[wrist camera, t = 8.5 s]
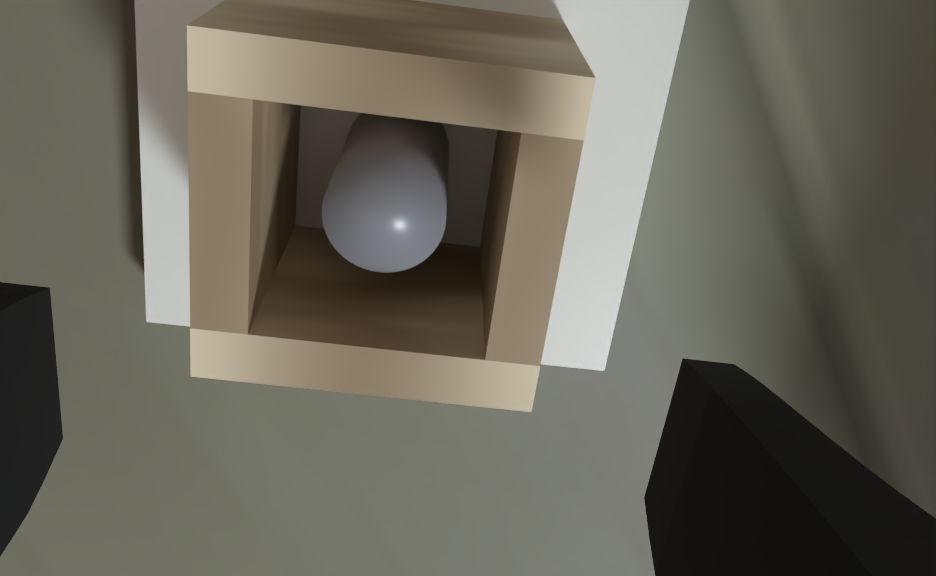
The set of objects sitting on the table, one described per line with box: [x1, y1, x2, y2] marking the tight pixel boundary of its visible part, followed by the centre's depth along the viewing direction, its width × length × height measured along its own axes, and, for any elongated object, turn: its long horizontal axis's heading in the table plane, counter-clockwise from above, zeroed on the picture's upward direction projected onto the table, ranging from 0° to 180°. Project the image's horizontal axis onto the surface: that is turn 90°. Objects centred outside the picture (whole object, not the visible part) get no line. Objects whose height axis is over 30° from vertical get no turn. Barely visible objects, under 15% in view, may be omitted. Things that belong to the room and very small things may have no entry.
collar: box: [187, 0, 596, 412], centre depth 15 cm, size 6×6×4 cm
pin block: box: [134, 0, 690, 371], centre depth 16 cm, size 10×9×5 cm
